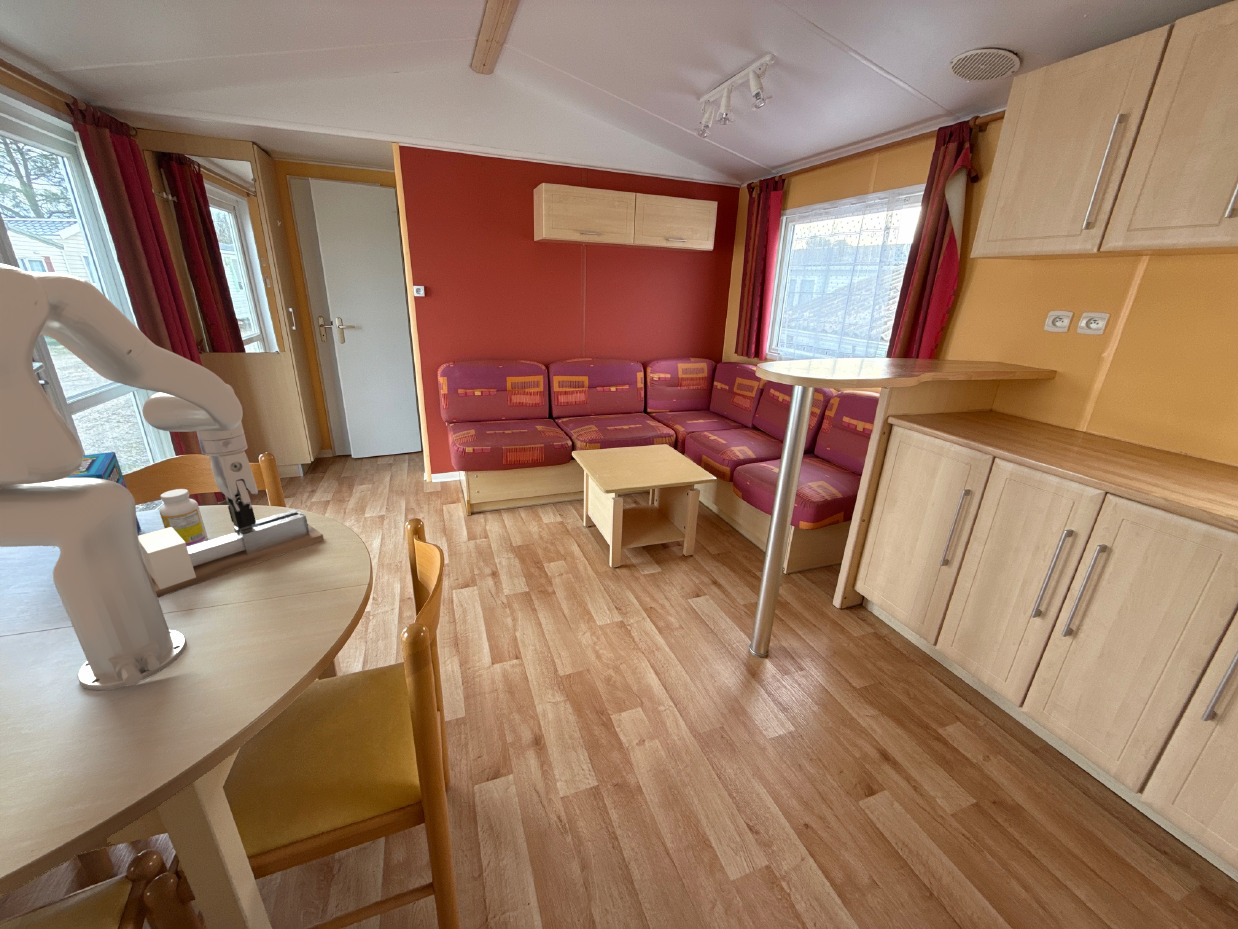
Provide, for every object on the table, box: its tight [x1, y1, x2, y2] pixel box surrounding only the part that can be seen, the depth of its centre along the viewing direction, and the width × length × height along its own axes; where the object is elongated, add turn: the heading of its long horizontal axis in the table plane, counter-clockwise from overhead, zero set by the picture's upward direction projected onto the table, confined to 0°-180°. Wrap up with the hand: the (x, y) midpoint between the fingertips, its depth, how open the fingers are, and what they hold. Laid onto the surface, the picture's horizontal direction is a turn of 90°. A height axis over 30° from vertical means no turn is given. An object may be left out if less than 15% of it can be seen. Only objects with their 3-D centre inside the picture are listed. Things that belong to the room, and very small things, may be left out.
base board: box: [149, 523, 325, 598], centre depth 108 cm, size 10×30×2 cm, turn 142°
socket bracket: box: [138, 527, 196, 589], centre depth 98 cm, size 10×6×8 cm, turn 52°
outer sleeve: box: [233, 508, 310, 555], centre depth 112 cm, size 6×12×5 cm, turn 142°
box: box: [66, 451, 142, 536], centre depth 107 cm, size 17×9×20 cm, turn 37°
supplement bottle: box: [158, 488, 208, 547], centre depth 112 cm, size 7×7×13 cm
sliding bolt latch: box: [187, 500, 252, 566], centre depth 103 cm, size 4×17×10 cm, turn 142°
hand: (244, 522), depth 107 cm, fingers closed on sliding bolt latch, 3 cm apart
